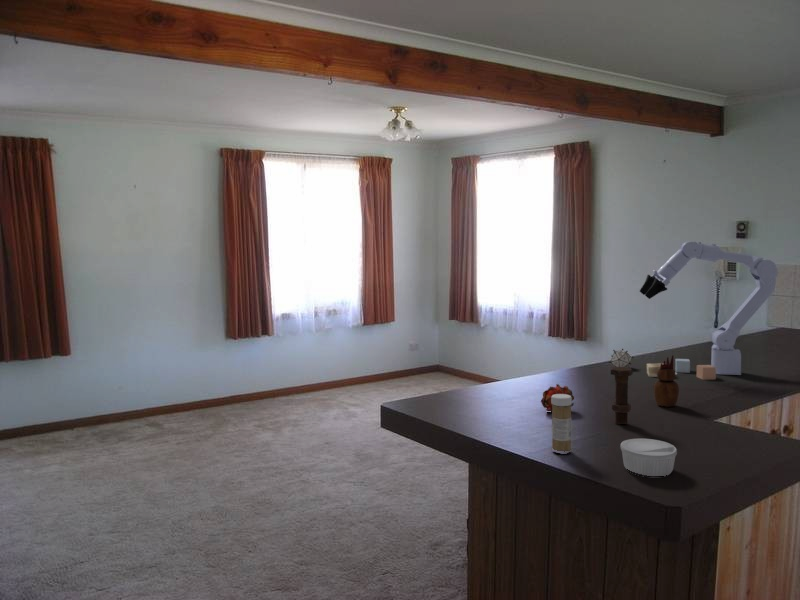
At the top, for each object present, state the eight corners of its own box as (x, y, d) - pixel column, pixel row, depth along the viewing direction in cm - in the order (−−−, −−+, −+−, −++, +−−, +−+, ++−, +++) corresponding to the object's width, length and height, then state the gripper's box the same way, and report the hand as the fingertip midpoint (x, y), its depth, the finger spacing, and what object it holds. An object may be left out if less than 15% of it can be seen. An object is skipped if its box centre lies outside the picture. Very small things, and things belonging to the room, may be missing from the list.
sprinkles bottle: (557, 447, 149) (557, 392, 148) (575, 451, 146) (575, 395, 145) (547, 452, 145) (547, 396, 144) (565, 456, 142) (565, 398, 141)
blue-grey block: (688, 372, 231) (688, 359, 231) (689, 374, 227) (689, 361, 226) (675, 371, 233) (675, 358, 232) (676, 374, 228) (676, 360, 228)
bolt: (628, 427, 164) (629, 371, 162) (609, 425, 166) (609, 369, 165) (633, 422, 169) (633, 367, 167) (614, 419, 171) (614, 365, 170)
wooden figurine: (677, 404, 186) (678, 354, 185) (679, 408, 181) (680, 357, 180) (653, 402, 189) (653, 353, 187) (654, 407, 183) (654, 356, 182)
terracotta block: (709, 378, 220) (709, 364, 219) (715, 381, 215) (715, 367, 215) (696, 379, 220) (696, 365, 219) (702, 381, 215) (702, 367, 215)
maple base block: (667, 372, 227) (667, 363, 226) (670, 376, 220) (669, 366, 220) (646, 373, 228) (646, 363, 228) (649, 376, 222) (648, 367, 222)
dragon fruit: (574, 413, 184) (547, 427, 177) (554, 393, 189) (527, 405, 182) (586, 394, 179) (558, 407, 172) (565, 374, 184) (537, 386, 177)
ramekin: (665, 484, 125) (666, 458, 125) (611, 471, 133) (611, 447, 132) (684, 468, 133) (684, 444, 133) (632, 458, 141) (632, 435, 140)
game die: (626, 380, 237) (639, 362, 231) (605, 372, 237) (617, 354, 231) (624, 365, 244) (636, 346, 238) (603, 357, 244) (615, 339, 238)
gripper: (657, 258, 237) (631, 284, 240) (669, 263, 223) (641, 291, 226) (671, 270, 237) (645, 296, 240) (683, 276, 223) (655, 304, 226)
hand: (644, 295), depth 233 cm, fingers open, 7 cm apart
